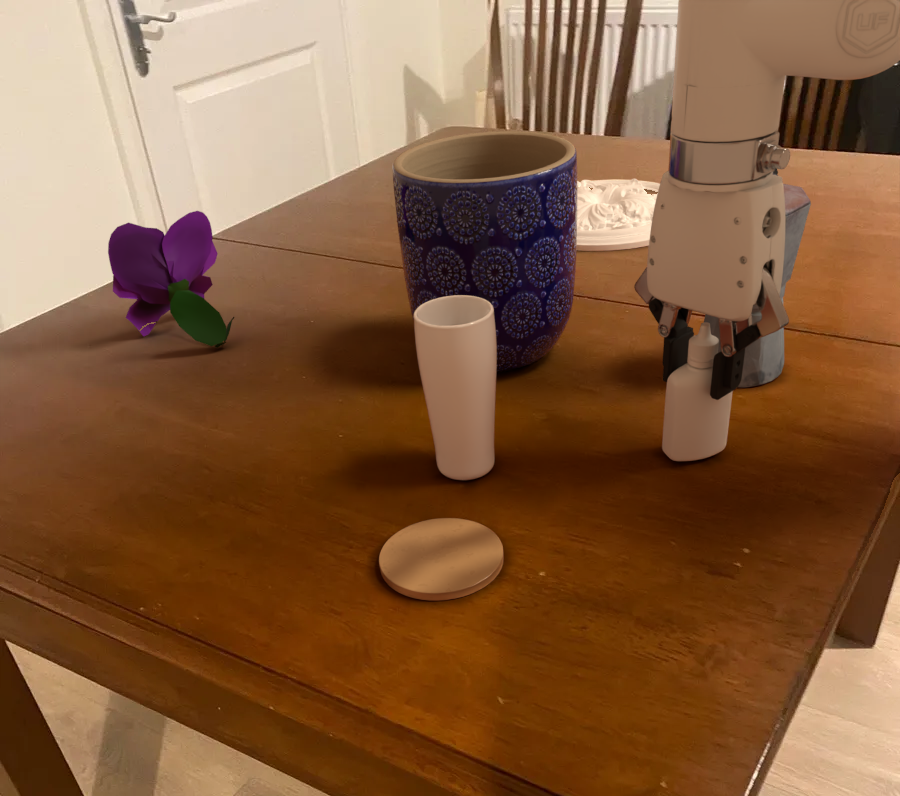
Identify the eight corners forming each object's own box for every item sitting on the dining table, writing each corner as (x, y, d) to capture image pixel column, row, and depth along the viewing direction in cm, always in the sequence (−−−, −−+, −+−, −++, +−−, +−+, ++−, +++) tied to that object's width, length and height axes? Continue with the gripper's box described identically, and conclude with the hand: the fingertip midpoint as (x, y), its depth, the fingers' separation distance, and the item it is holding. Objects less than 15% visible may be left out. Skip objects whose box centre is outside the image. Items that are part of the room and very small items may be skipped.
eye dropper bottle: (663, 437, 85) (671, 313, 78) (725, 440, 84) (740, 313, 76) (660, 462, 82) (669, 334, 74) (725, 465, 81) (741, 335, 73)
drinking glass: (511, 452, 86) (504, 296, 76) (490, 491, 81) (480, 329, 72) (444, 445, 88) (428, 292, 78) (419, 483, 83) (400, 324, 74)
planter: (551, 396, 94) (548, 183, 81) (387, 380, 100) (360, 179, 87) (593, 323, 107) (597, 129, 94) (446, 312, 113) (430, 129, 100)
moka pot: (675, 396, 92) (692, 185, 79) (703, 333, 102) (723, 138, 90) (774, 406, 89) (809, 188, 76) (793, 340, 99) (826, 139, 87)
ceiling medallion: (729, 197, 138) (732, 175, 136) (656, 261, 120) (657, 236, 118) (562, 182, 151) (562, 161, 149) (474, 237, 133) (473, 215, 131)
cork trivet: (529, 558, 73) (529, 550, 73) (435, 618, 68) (434, 610, 68) (446, 511, 79) (445, 503, 79) (355, 563, 74) (353, 556, 74)
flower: (269, 360, 118) (207, 292, 121) (281, 269, 106) (211, 195, 109) (171, 404, 111) (108, 330, 114) (172, 311, 98) (100, 231, 101)
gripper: (855, 159, 64) (812, 397, 76) (660, 131, 74) (649, 345, 86) (795, 187, 60) (760, 432, 72) (599, 154, 71) (596, 373, 82)
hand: (699, 382), depth 79 cm, fingers closed on eye dropper bottle, 4 cm apart
